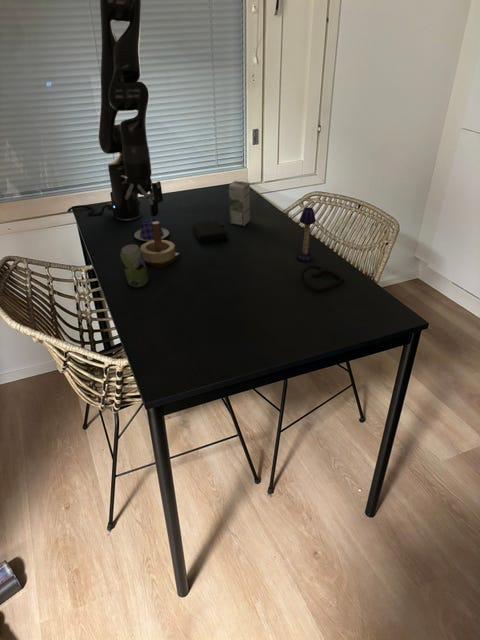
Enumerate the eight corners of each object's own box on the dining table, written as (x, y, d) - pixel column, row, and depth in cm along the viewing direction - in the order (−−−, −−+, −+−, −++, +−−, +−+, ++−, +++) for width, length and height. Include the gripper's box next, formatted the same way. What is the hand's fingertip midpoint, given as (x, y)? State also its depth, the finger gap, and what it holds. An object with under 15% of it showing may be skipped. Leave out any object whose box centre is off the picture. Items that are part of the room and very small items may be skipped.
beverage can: (153, 280, 145) (148, 242, 138) (140, 292, 139) (135, 253, 132) (134, 277, 147) (128, 239, 140) (121, 289, 141) (114, 250, 134)
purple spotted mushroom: (315, 260, 155) (319, 209, 146) (303, 264, 153) (307, 212, 144) (306, 254, 158) (309, 204, 149) (294, 258, 156) (297, 207, 147)
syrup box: (250, 220, 183) (250, 181, 175) (243, 226, 178) (243, 186, 170) (236, 218, 185) (235, 180, 177) (229, 224, 180) (228, 184, 172)
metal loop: (335, 258, 146) (351, 273, 138) (333, 275, 149) (348, 290, 140) (294, 261, 142) (307, 276, 134) (291, 278, 145) (305, 293, 137)
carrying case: (231, 241, 167) (221, 225, 179) (231, 233, 165) (220, 217, 177) (200, 245, 165) (192, 229, 177) (200, 237, 163) (191, 221, 175)
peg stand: (139, 262, 155) (134, 225, 148) (157, 251, 161) (153, 215, 154) (162, 269, 151) (158, 230, 144) (179, 257, 158) (176, 220, 151)
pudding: (163, 226, 179) (161, 212, 176) (174, 238, 170) (172, 224, 167) (130, 232, 175) (128, 218, 172) (139, 245, 165) (138, 230, 163)
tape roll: (134, 258, 154) (133, 249, 152) (155, 246, 161) (154, 237, 160) (161, 265, 150) (161, 256, 148) (181, 252, 157) (180, 243, 156)
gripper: (164, 158, 141) (169, 213, 150) (126, 152, 147) (132, 205, 156) (148, 165, 135) (154, 221, 144) (108, 158, 141) (116, 213, 150)
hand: (143, 213), depth 150 cm, fingers open, 8 cm apart
